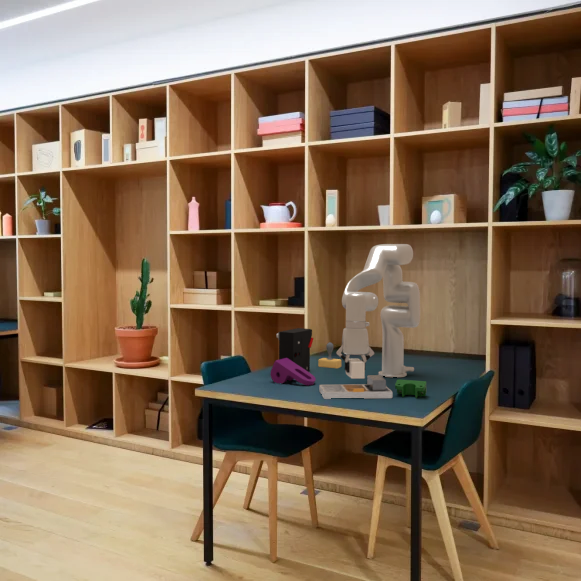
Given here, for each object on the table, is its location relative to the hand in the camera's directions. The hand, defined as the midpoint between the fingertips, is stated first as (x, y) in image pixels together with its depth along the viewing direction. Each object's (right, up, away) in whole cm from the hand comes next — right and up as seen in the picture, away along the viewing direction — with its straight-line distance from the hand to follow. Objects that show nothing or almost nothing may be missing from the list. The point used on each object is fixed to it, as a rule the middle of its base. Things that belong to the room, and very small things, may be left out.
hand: (355, 371), depth 240 cm
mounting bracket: (-23, -8, +23) cm, 34 cm away
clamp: (+21, -10, -2) cm, 23 cm away
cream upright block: (0, -2, 0) cm, 2 cm away
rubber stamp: (-6, -6, +62) cm, 63 cm away
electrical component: (-23, -7, +43) cm, 49 cm away
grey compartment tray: (0, -9, +1) cm, 9 cm away
